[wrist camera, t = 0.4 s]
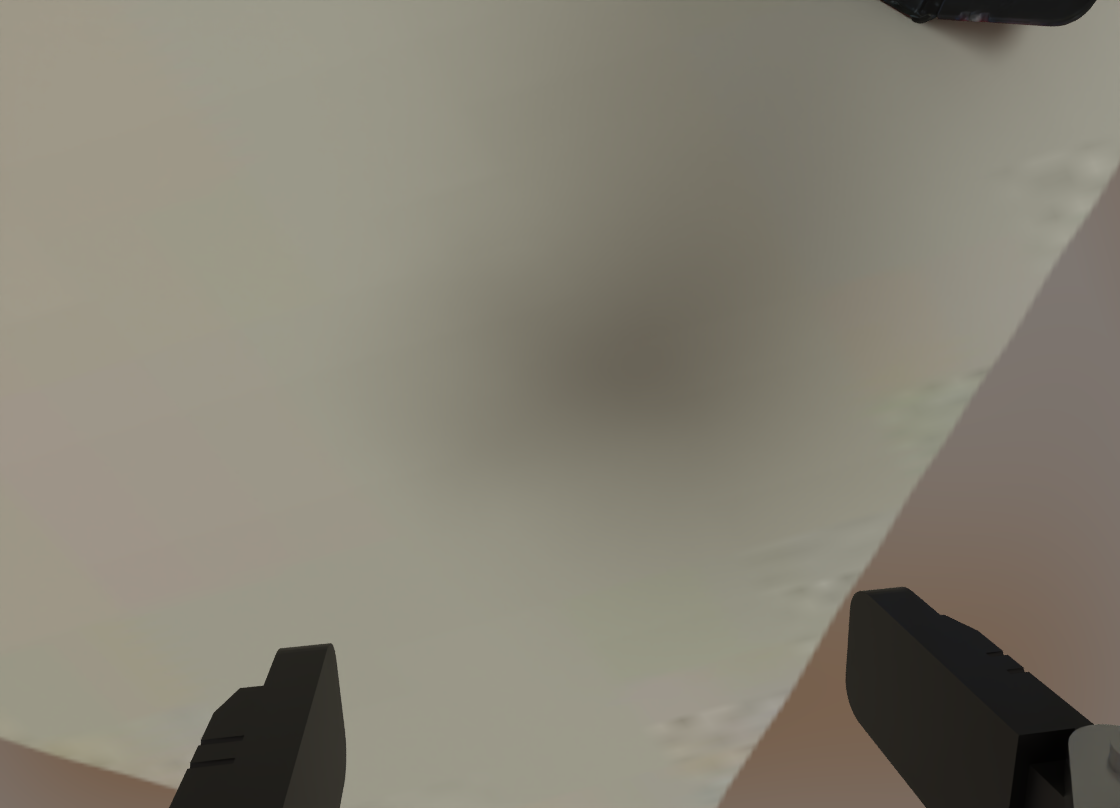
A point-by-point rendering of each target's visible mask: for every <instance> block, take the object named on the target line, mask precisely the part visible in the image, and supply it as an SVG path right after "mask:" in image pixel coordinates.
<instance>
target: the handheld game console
mask: <svg viewBox="0 0 1120 808" xmlns="http://www.w3.org/2000/svg"><path fill="white" fill-rule="evenodd" d="M882 1H884V2H885V3H887V4H889V5H890V6H892V7H894V8H895V9H897V10H899V11H900V12H902V13H904V14H905V15H907V16H909V17H912V21H914V22H917V23H924V22H927V21H930V20H932V19H934V18H936V17H938V19H943V20H958V21H974V22H994V23H1008V24H1023V25H1037V26H1062V25H1066V24H1069V23H1071V22H1073V21H1076V20H1077V19H1079V18H1080V17H1082V16H1083V15H1084V14H1085V13H1086V12H1087V11H1088V10H1089V9H1090V8H1091V7H1092V6H1093V4H1094V3H1095V1H1096V0H882Z"/></svg>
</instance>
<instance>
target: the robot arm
mask: <svg viewBox="0 0 1120 808" xmlns="http://www.w3.org/2000/svg"><path fill="white" fill-rule="evenodd" d="M846 690H847V695H848V699H849V703H850V706H851V708H852V711H853V713H854V715H855V717H856V719H857V720H858V722H859V723H860V724H861V726H862V727H863V728H864V729H865V731H866V732H867V733H868V734H869V736H870V737H871V738H872V739H873V741H874V742H875V743H876V744H877V746H878V747H879V748H880V750H881V751H882V752H883V754H884V755H885V756H886V757H887V759H888V760H889V761H890V762H891V764H892V765H893V766H894V767H895V769H896V770H897V771H898V773H899V774H900V775H901V776H902V778H903V779H904V780H905V781H906V783H907V784H908V785H909V787H910V788H911V789H912V790H913V791H914V793H915V794H916V795H917V796H918V798H919V799H920V800H921V802H922V803H923V804H924V805H925V807H926V808H1120V726H1116V725H1104V724H1098V725H1094V724H1093V723H1091V722H1090V721H1089V720H1088V719H1086V718H1085V717H1084V716H1083V715H1081V714H1080V713H1079V712H1078V711H1076V710H1075V709H1074V708H1073V707H1072V706H1070V705H1069V704H1068V703H1067V702H1065V701H1064V700H1063V699H1062V698H1060V697H1059V696H1058V695H1057V694H1055V693H1054V692H1053V691H1052V690H1051V689H1049V688H1048V687H1047V686H1046V685H1044V684H1043V683H1042V682H1041V681H1039V680H1038V679H1037V678H1036V677H1034V676H1033V675H1032V674H1031V673H1030V672H1024V669H1023V667H1022V666H1021V665H1019V664H1018V663H1017V662H1016V661H1015V660H1013V659H1012V658H1011V657H1010V656H1008V655H1003V651H1002V650H1001V649H1000V648H999V647H997V646H996V645H995V644H993V643H992V642H991V641H990V640H989V639H987V638H986V637H985V636H984V635H982V634H981V633H980V632H979V631H977V630H975V629H973V628H971V627H969V626H967V625H965V624H962V623H960V622H958V621H956V620H954V619H952V618H950V617H948V616H946V615H940V614H939V613H937V612H936V611H935V610H934V609H933V608H931V607H930V606H929V605H928V604H927V603H925V602H924V601H923V600H922V599H920V598H919V597H918V596H917V595H916V594H915V593H914V592H912V591H911V590H910V589H908V588H906V587H896V588H886V589H877V590H868V591H859V592H857V593H855V594H854V596H853V598H852V601H851V606H850V619H849V635H848V650H847V664H846ZM345 772H346V738H345V728H344V720H343V712H342V703H341V695H340V687H339V678H338V670H337V662H336V655H335V650H334V647H333V645H332V644H331V643H329V644H319V645H309V646H299V647H290V648H280V649H279V650H278V651H277V653H276V655H275V658H274V660H273V663H272V666H271V668H270V671H269V673H268V676H267V678H266V681H265V683H264V686H256V687H247V688H240V689H239V690H238V691H236V692H235V693H234V694H233V695H232V696H231V697H230V698H229V699H228V700H227V701H226V702H225V703H224V704H223V705H222V706H221V707H219V708H218V709H217V710H216V711H215V712H214V713H213V715H212V718H211V720H210V722H209V724H208V726H207V728H206V730H205V733H204V735H203V737H202V739H201V745H199V746H198V747H197V750H196V752H195V754H194V756H193V758H192V760H191V762H190V769H187V771H186V773H185V775H184V777H183V779H182V782H181V784H180V786H179V788H178V790H177V792H176V795H175V797H174V799H173V801H172V803H171V805H170V807H169V808H340V803H341V798H342V793H343V787H344V781H345Z"/></svg>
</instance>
